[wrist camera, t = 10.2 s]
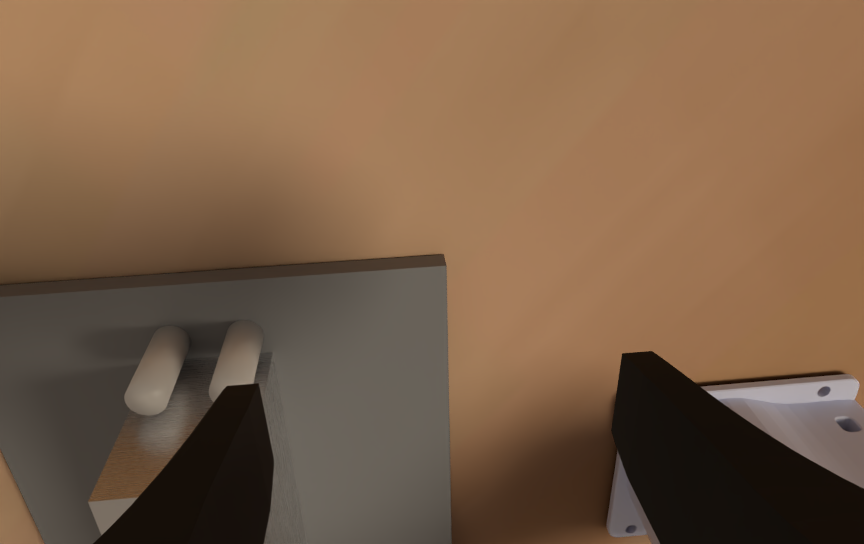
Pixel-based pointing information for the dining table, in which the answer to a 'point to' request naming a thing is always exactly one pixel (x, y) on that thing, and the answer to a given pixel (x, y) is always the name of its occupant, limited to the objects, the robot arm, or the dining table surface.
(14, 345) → the dock
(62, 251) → the dining table surface
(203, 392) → the block
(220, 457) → the robot arm
